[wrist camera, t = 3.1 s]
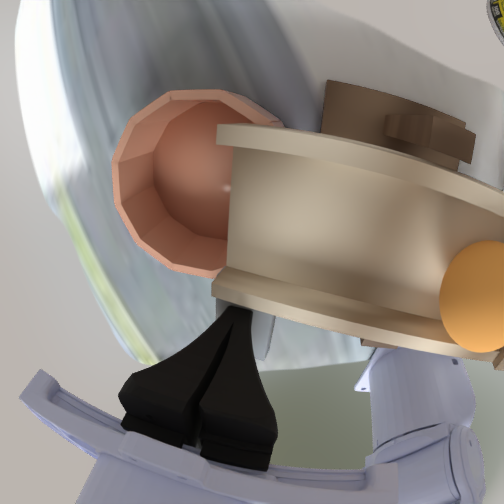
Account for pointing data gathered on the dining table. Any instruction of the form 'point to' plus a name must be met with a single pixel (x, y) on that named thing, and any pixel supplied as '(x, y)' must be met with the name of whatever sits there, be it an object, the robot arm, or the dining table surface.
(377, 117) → the lever stand
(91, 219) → the dining table surface
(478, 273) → the ball
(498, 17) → the pill bottle
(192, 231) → the cup
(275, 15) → the dining table surface
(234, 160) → the beige curved piece
